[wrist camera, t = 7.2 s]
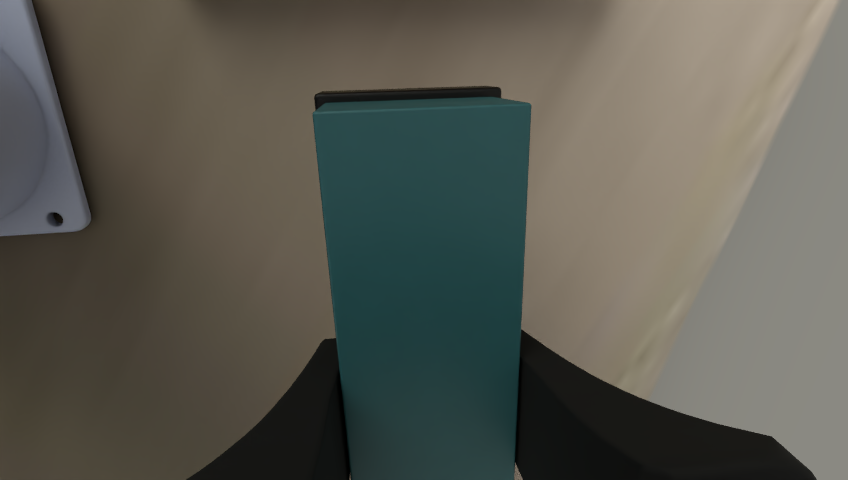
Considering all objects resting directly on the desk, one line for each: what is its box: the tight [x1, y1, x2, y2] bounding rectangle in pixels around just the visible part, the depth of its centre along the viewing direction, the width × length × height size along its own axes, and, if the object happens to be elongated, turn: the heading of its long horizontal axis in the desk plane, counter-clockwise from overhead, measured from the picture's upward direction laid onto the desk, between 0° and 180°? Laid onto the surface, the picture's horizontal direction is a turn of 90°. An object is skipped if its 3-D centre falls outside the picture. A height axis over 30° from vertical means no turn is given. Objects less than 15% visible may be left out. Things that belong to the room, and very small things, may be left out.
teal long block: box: [313, 86, 531, 480], centre depth 12 cm, size 14×4×4 cm, turn 2°
